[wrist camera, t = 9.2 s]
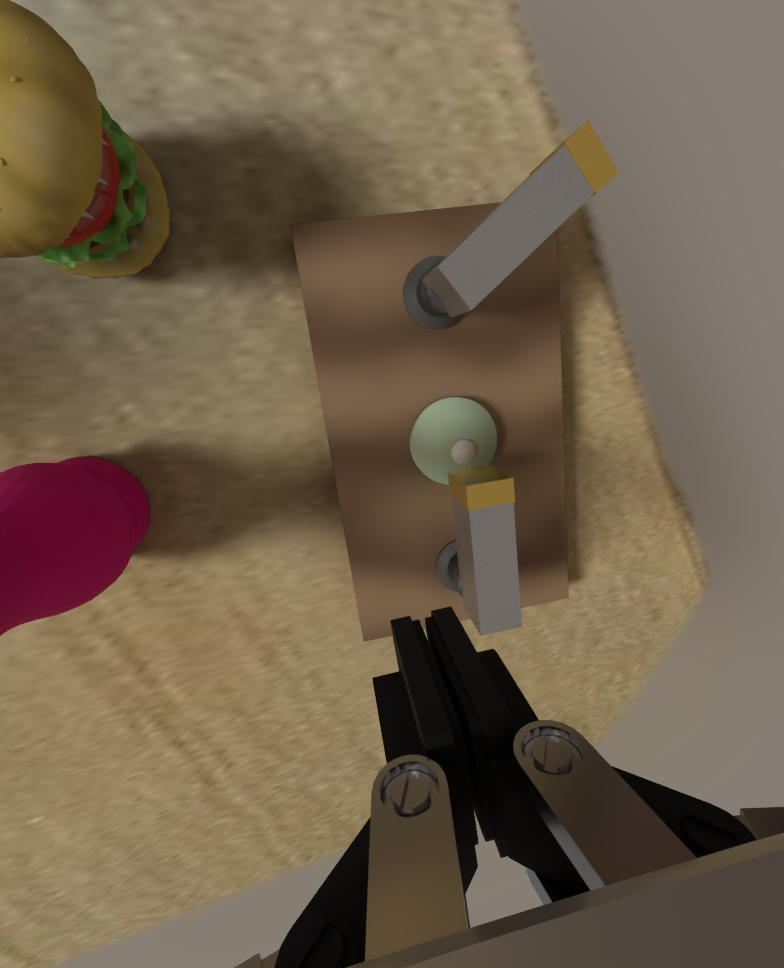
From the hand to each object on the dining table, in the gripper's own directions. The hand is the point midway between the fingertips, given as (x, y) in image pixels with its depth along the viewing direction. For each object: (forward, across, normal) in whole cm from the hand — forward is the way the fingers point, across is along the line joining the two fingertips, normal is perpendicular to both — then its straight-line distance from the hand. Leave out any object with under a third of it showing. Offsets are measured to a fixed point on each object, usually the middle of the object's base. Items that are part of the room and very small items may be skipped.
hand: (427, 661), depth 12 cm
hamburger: (+17, +10, -17) cm, 26 cm away
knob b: (+15, -5, +3) cm, 16 cm away
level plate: (+17, -5, -3) cm, 18 cm away
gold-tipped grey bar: (+15, -8, -12) cm, 21 cm away
